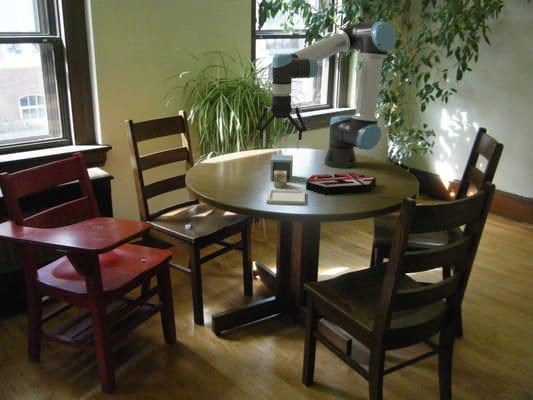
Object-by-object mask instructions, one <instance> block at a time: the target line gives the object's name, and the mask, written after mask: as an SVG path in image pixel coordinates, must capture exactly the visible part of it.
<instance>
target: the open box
mask: <svg viewBox="0 0 533 400" xmlns="http://www.w3.org/2000/svg"><path fill="white" fill-rule="evenodd" d="M293 159H294V156H293V155H291V154H289V155H288V154H287V155H286V154H272V155H271V158H270V181H271V180H273V181H274V177H273V176H274V171H287V177H289V182H292V181H293V163H294V162H293Z"/></svg>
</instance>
